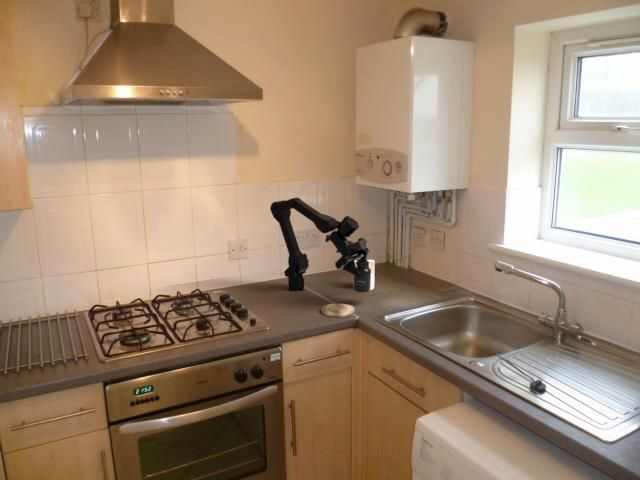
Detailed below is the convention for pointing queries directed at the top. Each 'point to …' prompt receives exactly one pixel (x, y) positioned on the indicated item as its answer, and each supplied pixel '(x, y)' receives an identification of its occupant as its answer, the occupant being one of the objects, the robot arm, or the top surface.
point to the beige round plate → (337, 310)
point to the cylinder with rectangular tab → (372, 267)
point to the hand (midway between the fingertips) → (365, 274)
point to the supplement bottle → (362, 277)
